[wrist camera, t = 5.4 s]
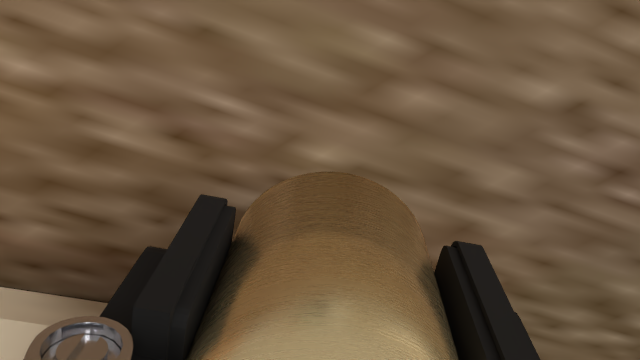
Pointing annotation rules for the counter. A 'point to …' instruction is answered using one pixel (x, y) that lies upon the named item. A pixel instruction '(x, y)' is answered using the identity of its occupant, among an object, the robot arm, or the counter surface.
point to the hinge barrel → (326, 279)
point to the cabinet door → (35, 317)
